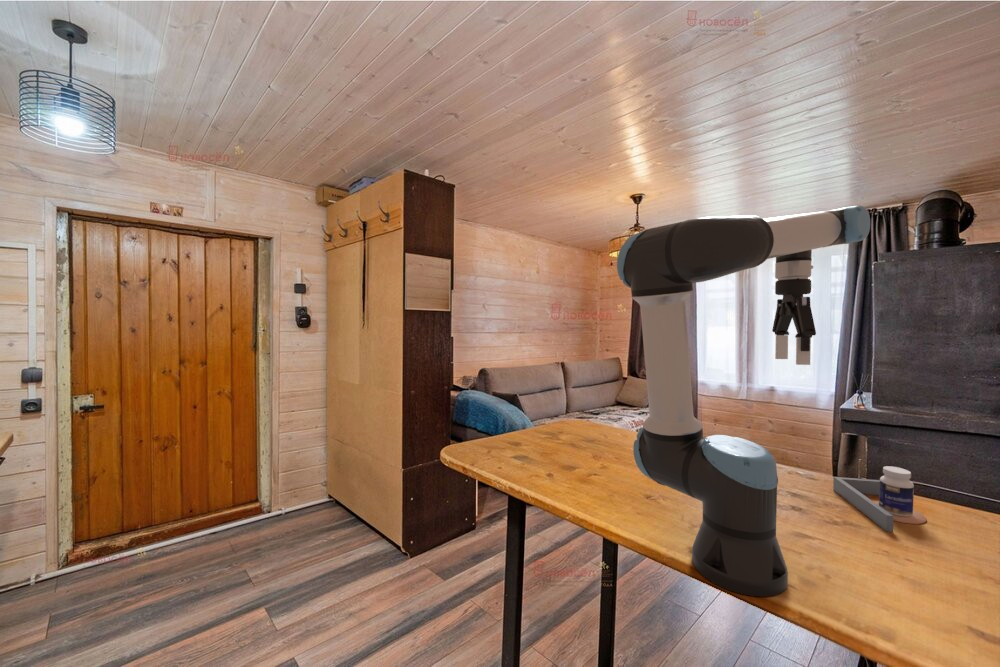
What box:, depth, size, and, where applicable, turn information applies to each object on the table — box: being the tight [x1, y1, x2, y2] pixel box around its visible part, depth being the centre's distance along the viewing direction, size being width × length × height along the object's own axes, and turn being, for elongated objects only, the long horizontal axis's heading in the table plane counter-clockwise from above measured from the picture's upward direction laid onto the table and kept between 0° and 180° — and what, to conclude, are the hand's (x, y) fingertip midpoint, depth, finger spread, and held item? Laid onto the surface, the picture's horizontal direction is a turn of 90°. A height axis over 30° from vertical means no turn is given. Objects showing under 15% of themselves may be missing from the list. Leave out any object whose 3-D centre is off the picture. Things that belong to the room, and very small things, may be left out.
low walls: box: [832, 476, 894, 533], centre depth 97 cm, size 22×10×4 cm, turn 165°
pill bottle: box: [878, 465, 915, 517], centre depth 95 cm, size 6×6×10 cm
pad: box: [874, 501, 927, 525], centre depth 96 cm, size 10×10×1 cm
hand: (791, 361), depth 106 cm, fingers open, 13 cm apart
